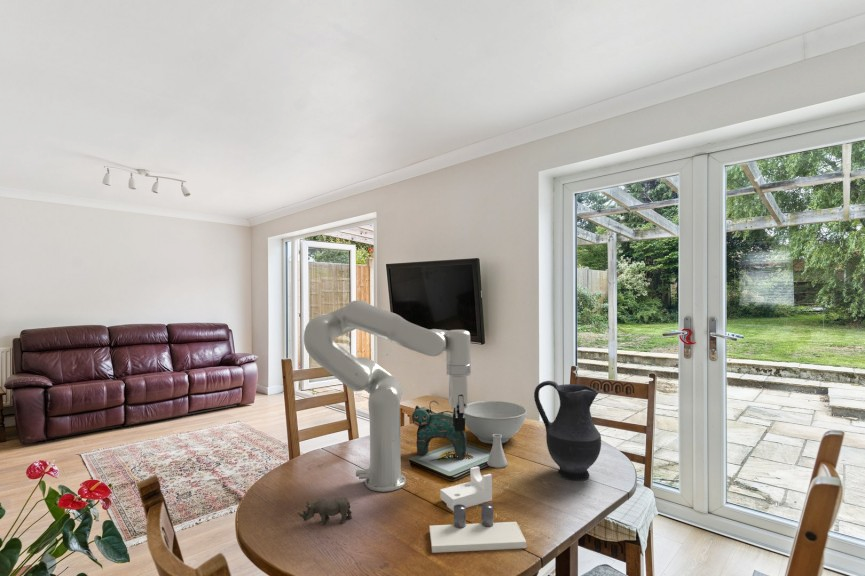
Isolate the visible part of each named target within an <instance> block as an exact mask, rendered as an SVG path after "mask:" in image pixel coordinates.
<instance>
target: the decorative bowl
mask: <svg viewBox="0 0 865 576" xmlns="http://www.w3.org/2000/svg"><path fill="white" fill-rule="evenodd" d="M464 408H465V407H464ZM527 414H528V409H527V408H526V407H524V406H523V405H521V404H518V403H513V402H508V401H501V400H481V401H473V402H467V408H465V427H466V428H467V429H468V430H469V432H471V433H472V434H473V435H475V436H476V437H477V438H478V440H479V441H480V442H481V443H484V444H490V445H493V436H492V435H493V434H500V435H502V437H501V444H505V443H507V442H509V440H510V438H512V437H514V436H515V435H516V434H517V433H518V432H519V431H520V429H521V428H522V427H523V424H524V422H525V420H526V417H527Z"/></svg>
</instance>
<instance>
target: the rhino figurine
mask: <svg viewBox="0 0 865 576" xmlns="http://www.w3.org/2000/svg"><path fill="white" fill-rule="evenodd" d="M305 507H306V509H307V510H302V512H303V513H300V512H299V511H298V512H297V514H298V516H300V517H301V518H302V519H303V521H304V522H307V521H308V520H310V519H312V518H314V516H315V514H318V515H319V517H320V519H321V521H320V523H319V525H320V526H325V525H326V523H327V522H326V521H328V520H330V517H333V516H337V515H338V514H340V515H341V517H340V520H339V522H338V523H339V524H340V525H343V524H345V523H346V522H347V521H346V520H348V521H349V520H351V519H352V518H353V516H352V514H353V512H352V511H351V503H350V501H349V499H347V498H345V497H336V498H333V499H326V498H319V499H317V500H315V501H313V502H312V503H310V502H309V501H307V502H306V505H305Z"/></svg>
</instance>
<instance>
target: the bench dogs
mask: <svg viewBox="0 0 865 576" xmlns="http://www.w3.org/2000/svg"><path fill="white" fill-rule="evenodd" d="M480 507H481V511H480V512H481V513H480V514H481V518H480V519H481V521H480V523H481V524H482V526H484V527H492V526H493V523H494V505H493V504H492V503H487V502H485V503H481V505H480ZM466 511H467V510H466V507H465V506H464V505H461V504H457V505H455V506H454V512H453V525H454V527H456V528H464V527H465V526H466V524H467V522H466V521H467V518H466V515H467V512H466Z"/></svg>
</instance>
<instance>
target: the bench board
mask: <svg viewBox="0 0 865 576" xmlns="http://www.w3.org/2000/svg"><path fill="white" fill-rule="evenodd" d="M429 536H430V544H431V545H430V546H431V553H433V554H435V553H455V552H457V553H458V552H475V551H495V550H497V551H498V550H513V549H514V550H515V549H518V550H519V549H527V540H526V538H525V536H524V534H523V533H522V530H521V527H520V526H519V524H518V522H517V521H503V522H493V526H492V527H484V526H482V524H481V522H480V523H478V522H477V523H466V526H465V527H464V528H456V527H454V524H438V525H437V524H436V525H429Z"/></svg>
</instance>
